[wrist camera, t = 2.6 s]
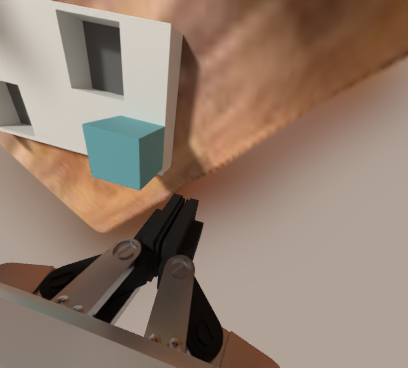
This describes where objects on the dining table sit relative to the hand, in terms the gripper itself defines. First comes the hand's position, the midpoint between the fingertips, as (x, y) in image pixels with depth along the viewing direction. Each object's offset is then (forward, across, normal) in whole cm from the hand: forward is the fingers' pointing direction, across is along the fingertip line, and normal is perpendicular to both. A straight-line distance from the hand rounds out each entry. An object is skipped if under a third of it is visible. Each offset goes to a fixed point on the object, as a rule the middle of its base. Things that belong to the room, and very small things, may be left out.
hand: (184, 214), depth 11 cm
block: (+8, +8, -1) cm, 11 cm away
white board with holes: (+11, +19, -4) cm, 23 cm away
